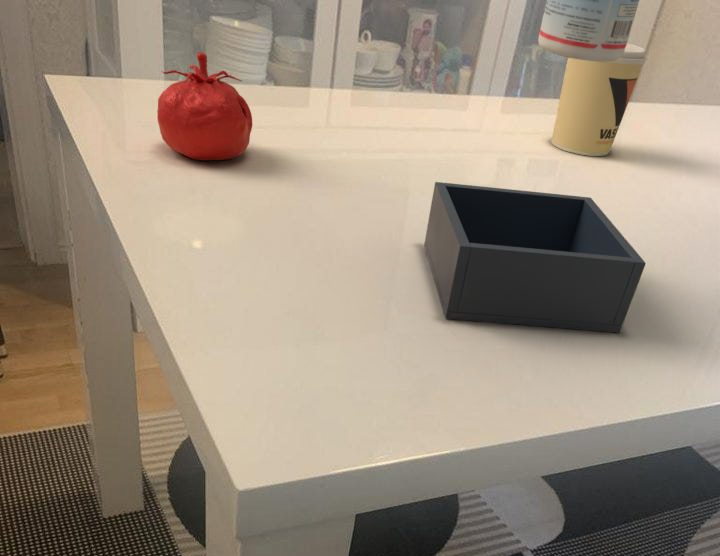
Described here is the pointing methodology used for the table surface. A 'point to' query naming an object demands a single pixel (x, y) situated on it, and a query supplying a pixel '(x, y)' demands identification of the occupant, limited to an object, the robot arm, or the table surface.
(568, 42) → the pill bottle
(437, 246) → the dark grey open box
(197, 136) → the red tomato
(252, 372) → the table surface
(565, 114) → the coffee cup
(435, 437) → the table surface
